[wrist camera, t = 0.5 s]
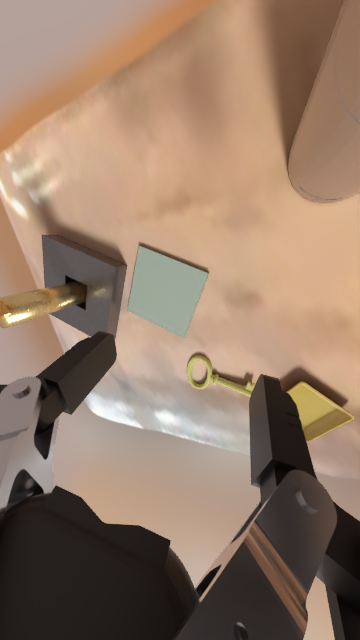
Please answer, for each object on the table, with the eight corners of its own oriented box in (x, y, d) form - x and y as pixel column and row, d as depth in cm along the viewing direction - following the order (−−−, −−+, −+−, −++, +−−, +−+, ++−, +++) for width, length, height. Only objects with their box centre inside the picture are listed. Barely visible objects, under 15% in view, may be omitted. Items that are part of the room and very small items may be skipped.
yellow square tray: (299, 372, 28) (302, 381, 27) (350, 407, 28) (357, 418, 26) (261, 401, 33) (261, 410, 31) (304, 432, 32) (307, 443, 30)
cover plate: (57, 235, 35) (41, 234, 33) (126, 265, 32) (115, 267, 30) (59, 307, 43) (46, 311, 40) (115, 337, 40) (105, 344, 37)
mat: (141, 245, 30) (139, 245, 29) (209, 272, 28) (208, 273, 27) (129, 309, 36) (127, 310, 35) (184, 336, 33) (183, 338, 33)
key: (256, 390, 32) (256, 399, 31) (190, 384, 37) (187, 391, 36) (253, 354, 30) (252, 361, 28) (183, 353, 35) (179, 359, 33)
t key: (92, 274, 36) (-23, 295, 21) (102, 293, 36) (-2, 326, 22) (74, 286, 39) (-38, 312, 24) (84, 303, 39) (-18, 339, 25)
